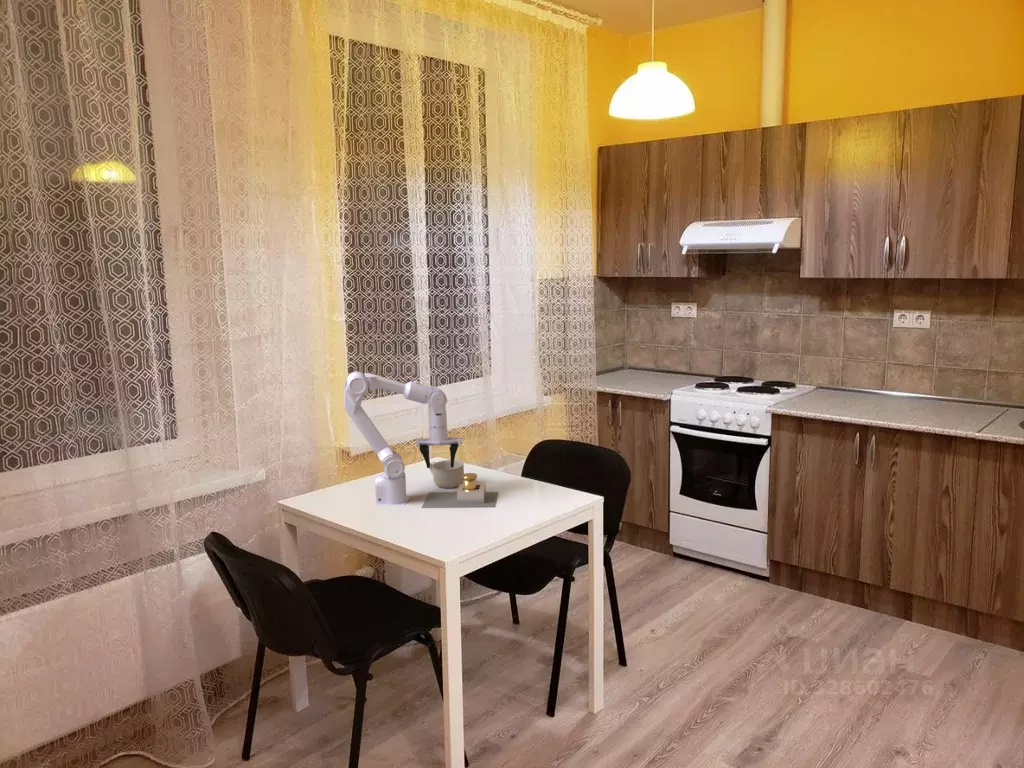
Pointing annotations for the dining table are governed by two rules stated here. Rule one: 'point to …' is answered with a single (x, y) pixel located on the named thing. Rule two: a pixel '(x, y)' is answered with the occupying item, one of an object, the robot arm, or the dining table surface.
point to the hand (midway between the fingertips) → (440, 467)
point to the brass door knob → (469, 481)
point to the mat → (451, 500)
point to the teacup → (447, 473)
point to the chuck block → (471, 494)
